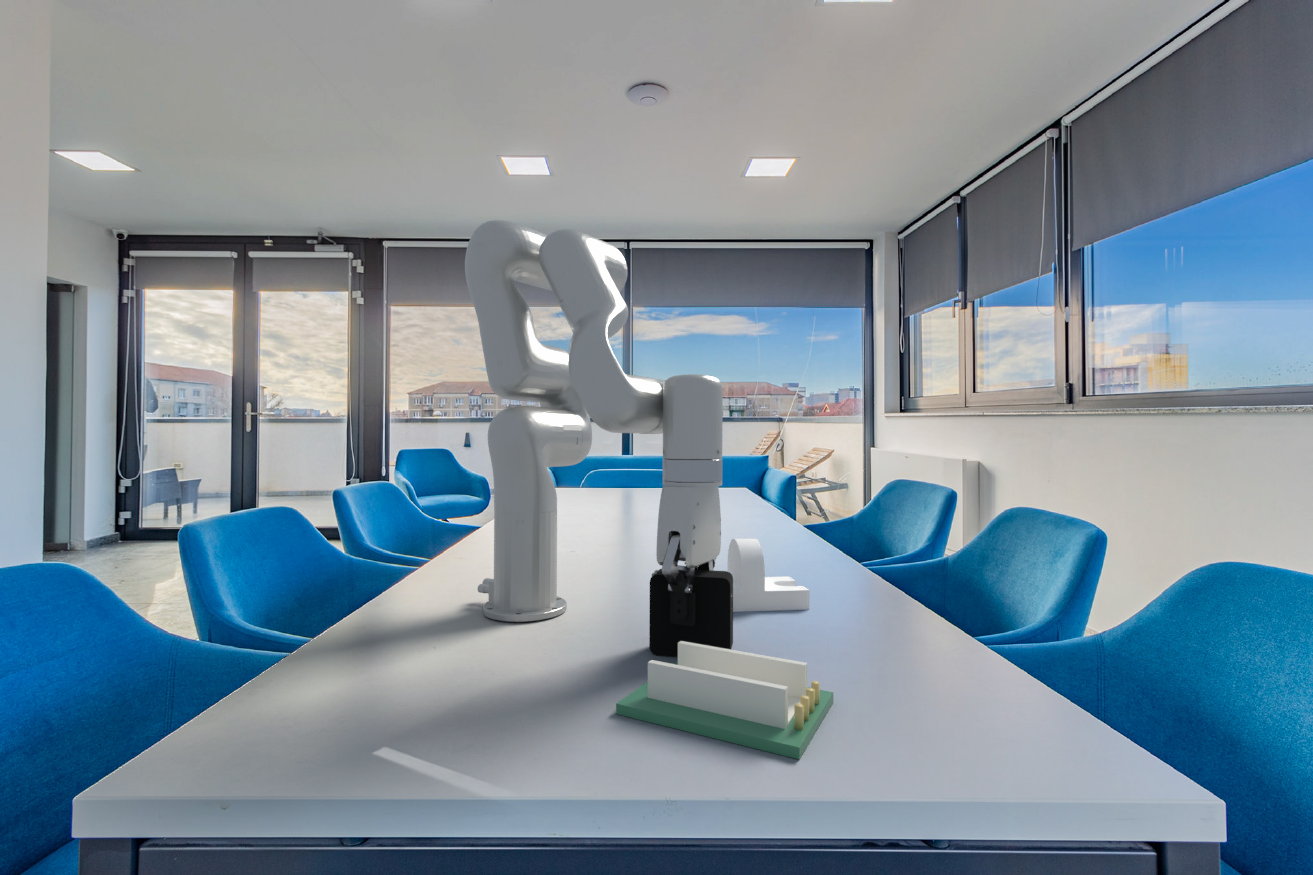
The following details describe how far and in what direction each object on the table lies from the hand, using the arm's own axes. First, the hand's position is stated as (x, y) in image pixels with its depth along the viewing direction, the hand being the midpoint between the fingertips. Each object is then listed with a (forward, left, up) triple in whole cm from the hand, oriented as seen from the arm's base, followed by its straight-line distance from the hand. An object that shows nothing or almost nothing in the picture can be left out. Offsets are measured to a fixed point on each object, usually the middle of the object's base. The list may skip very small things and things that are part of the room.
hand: (691, 617), depth 78 cm
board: (+10, -13, -4) cm, 17 cm away
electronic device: (0, 0, -5) cm, 5 cm away
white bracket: (-2, +25, -5) cm, 25 cm away
